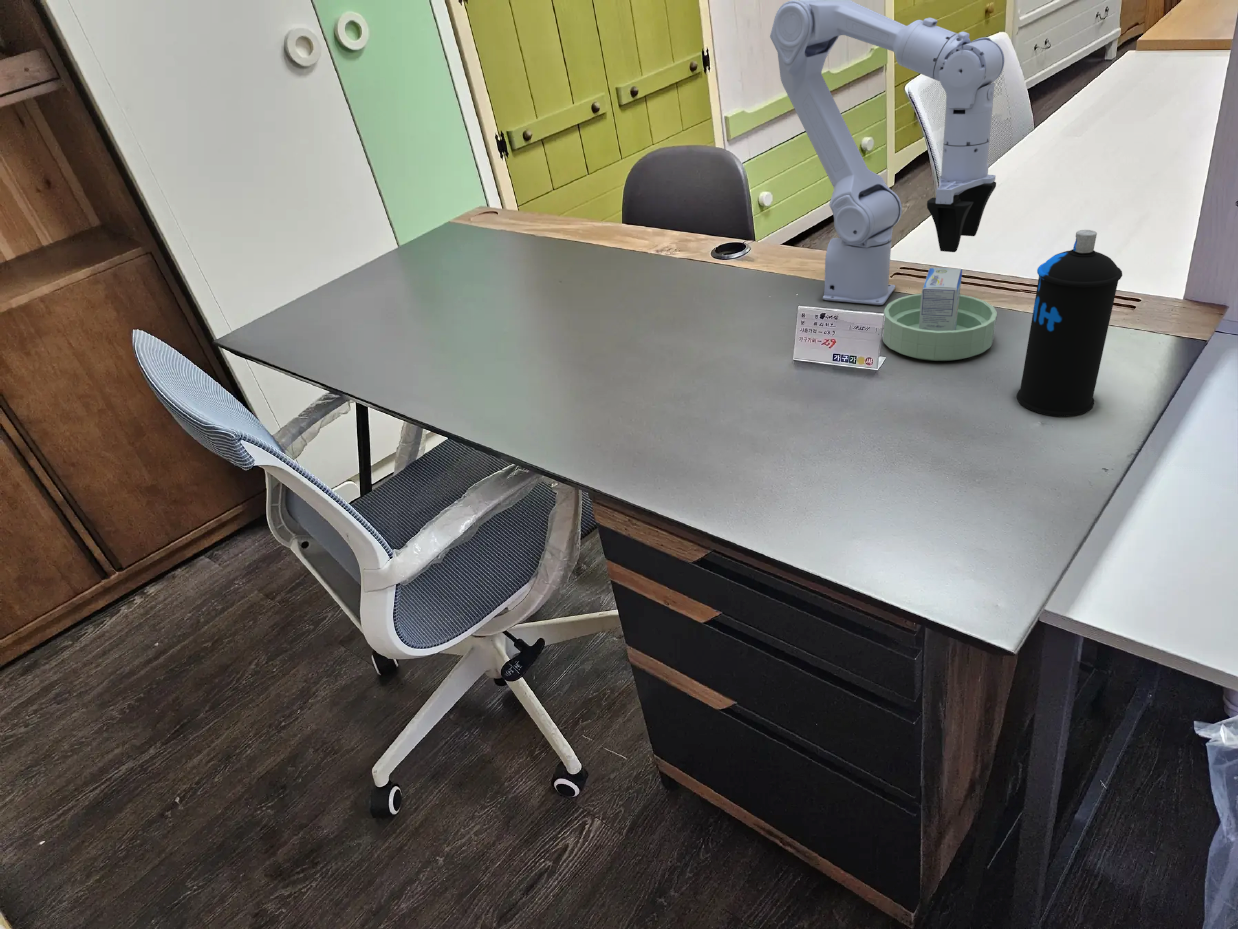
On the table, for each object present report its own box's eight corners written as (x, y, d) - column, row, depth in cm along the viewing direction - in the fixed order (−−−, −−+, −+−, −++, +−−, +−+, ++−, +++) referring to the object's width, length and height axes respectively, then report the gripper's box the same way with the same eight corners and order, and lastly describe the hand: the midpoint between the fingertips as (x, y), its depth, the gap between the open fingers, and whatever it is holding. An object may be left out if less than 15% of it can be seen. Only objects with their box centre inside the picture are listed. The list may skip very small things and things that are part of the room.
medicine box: (951, 350, 112) (958, 288, 108) (916, 348, 114) (921, 286, 109) (956, 327, 118) (963, 267, 114) (922, 325, 120) (928, 266, 115)
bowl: (870, 356, 114) (872, 325, 112) (896, 317, 125) (898, 288, 122) (982, 370, 108) (986, 337, 105) (999, 327, 118) (1004, 297, 116)
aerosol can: (1089, 386, 101) (1125, 220, 91) (1098, 419, 95) (1137, 244, 84) (1014, 382, 104) (1040, 221, 94) (1018, 414, 98) (1046, 244, 87)
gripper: (978, 154, 105) (969, 260, 112) (1015, 130, 114) (1004, 230, 121) (922, 153, 109) (917, 256, 116) (962, 130, 119) (954, 227, 125)
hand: (958, 242), depth 119 cm, fingers open, 7 cm apart
